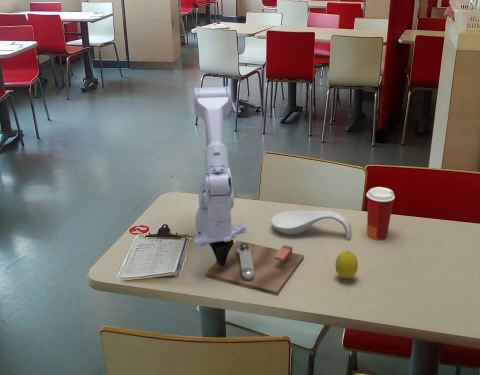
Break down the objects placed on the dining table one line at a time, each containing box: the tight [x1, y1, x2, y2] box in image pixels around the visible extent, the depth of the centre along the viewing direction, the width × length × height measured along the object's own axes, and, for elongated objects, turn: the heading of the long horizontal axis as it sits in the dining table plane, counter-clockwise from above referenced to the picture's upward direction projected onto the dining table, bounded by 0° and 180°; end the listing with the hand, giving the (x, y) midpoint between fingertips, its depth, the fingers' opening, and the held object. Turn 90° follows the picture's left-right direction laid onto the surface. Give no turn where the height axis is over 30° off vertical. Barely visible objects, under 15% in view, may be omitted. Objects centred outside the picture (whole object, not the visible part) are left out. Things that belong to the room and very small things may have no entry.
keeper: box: [274, 244, 293, 261], centre depth 144 cm, size 2×7×3 cm, turn 154°
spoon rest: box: [270, 210, 352, 241], centre depth 161 cm, size 24×12×7 cm, turn 75°
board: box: [204, 240, 305, 296], centre depth 144 cm, size 20×19×1 cm
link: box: [237, 242, 254, 280], centre depth 143 cm, size 16×4×2 cm, turn 4°
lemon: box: [334, 250, 359, 280], centre depth 137 cm, size 6×6×8 cm
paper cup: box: [366, 186, 396, 241], centre depth 156 cm, size 8×8×14 cm
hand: (221, 263), depth 143 cm, fingers closed
